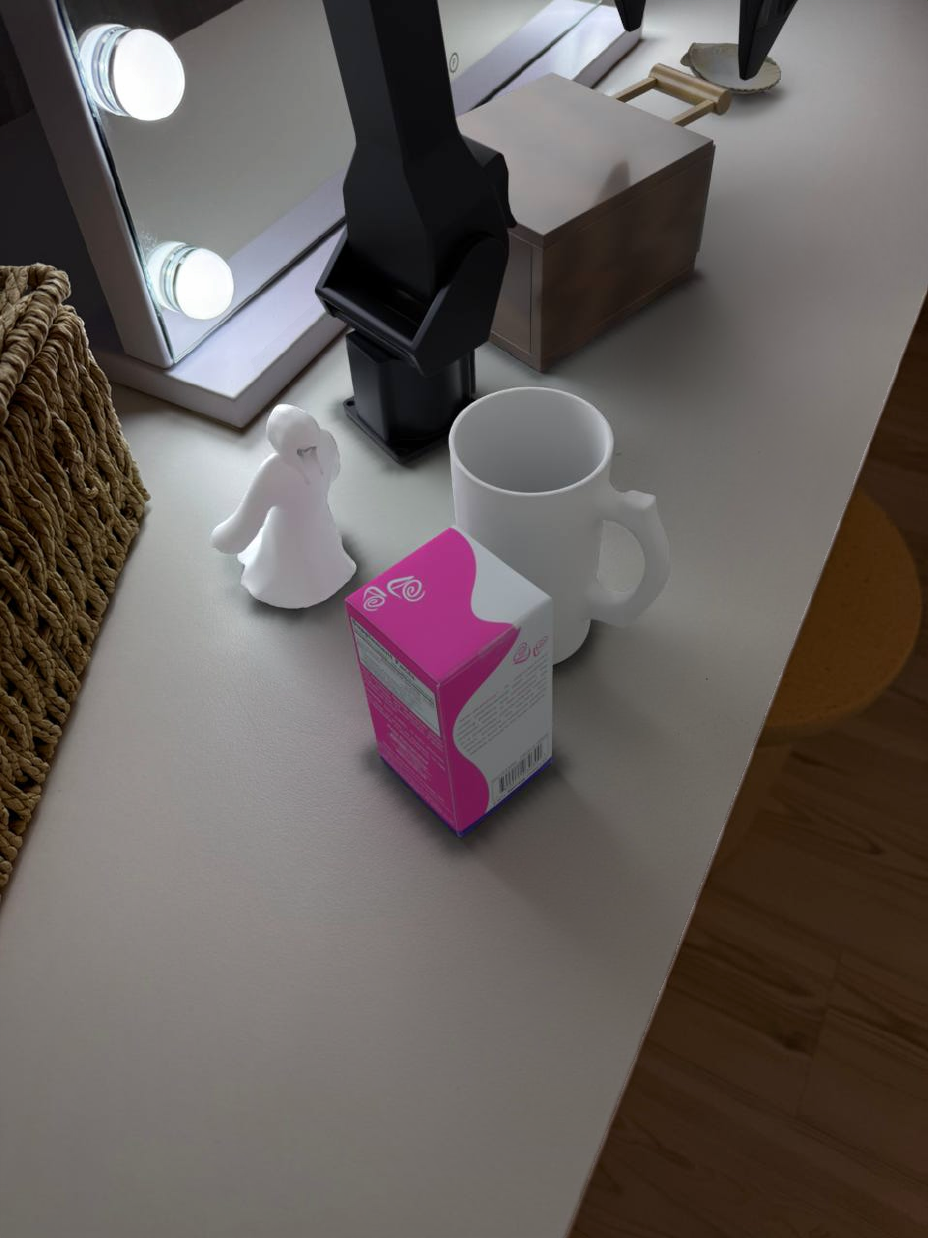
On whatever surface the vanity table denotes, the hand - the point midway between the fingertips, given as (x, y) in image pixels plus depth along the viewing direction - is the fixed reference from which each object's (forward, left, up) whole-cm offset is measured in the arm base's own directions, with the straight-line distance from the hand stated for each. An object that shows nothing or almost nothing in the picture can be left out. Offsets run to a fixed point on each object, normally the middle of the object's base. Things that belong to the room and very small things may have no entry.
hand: (687, 52), depth 61 cm
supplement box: (-35, -24, -14) cm, 44 cm away
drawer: (-3, +4, -13) cm, 13 cm away
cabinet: (-8, +3, -14) cm, 16 cm away
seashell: (+22, +15, -14) cm, 30 cm away
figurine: (-35, -9, -14) cm, 38 cm away
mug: (-27, -21, -14) cm, 37 cm away
